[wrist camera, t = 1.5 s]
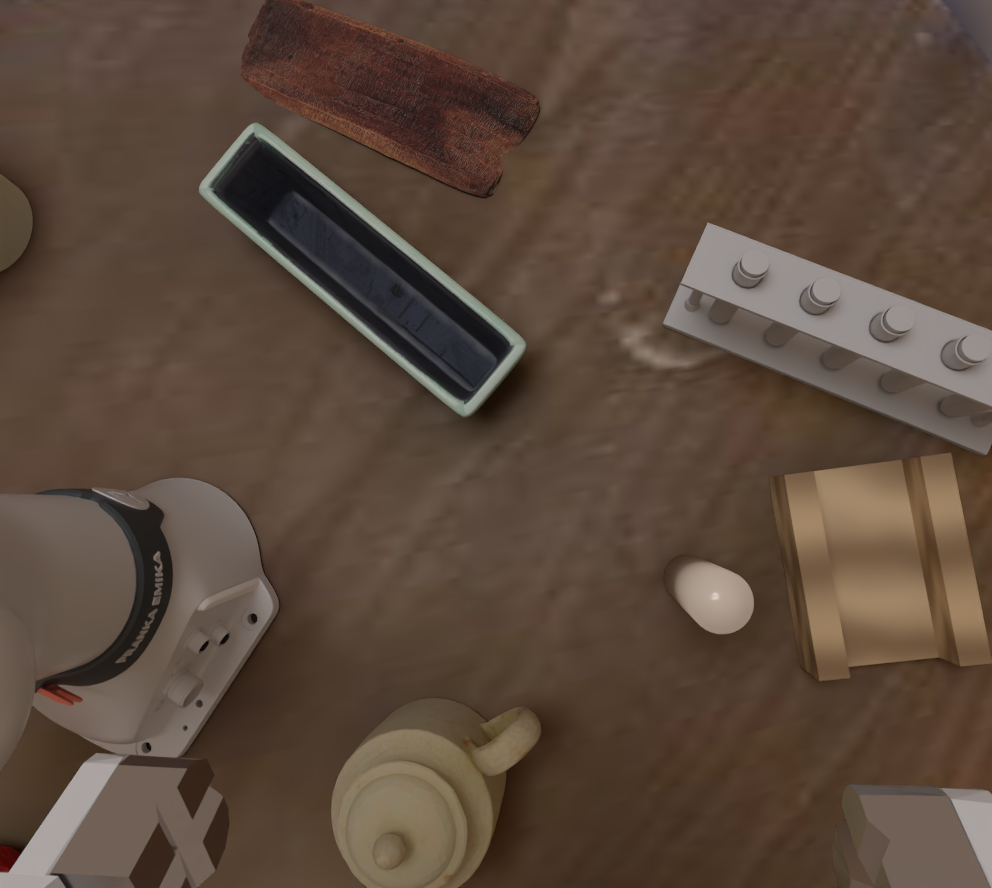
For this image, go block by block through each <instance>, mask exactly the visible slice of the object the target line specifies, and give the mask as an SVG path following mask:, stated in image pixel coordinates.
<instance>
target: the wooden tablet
mask: <svg viewBox="0 0 992 888" xmlns="http://www.w3.org/2000/svg"><path fill="white" fill-rule="evenodd" d="M248 37H249V43H248V44H247V45H246V47H245V50H244V52H243V56H242V67H241V76H242V77H243V79H244V80H245V81H247V82H248V83H249V84H250V85H251V86H252V87H254V88H255V89H256V90H257V91H258V92H260V93H261V94H262V95H264V96H265V97H266V98H268V99H270V100H271V101H273V102H274V103H276V104H278V105H280V106H282V107H284V108H286V109H288V110H290V111H292V112H295V113H297V114H299V115H301V116H303V117H305V118H307V119H310V120H312V121H314V122H317V123H318V124H321V125H323V126H326V127H328V128H330V129H332V130H334V131H336V132H339V133H341V134H343V135H344V136H347V137H349V138H351V139H353V140H355V141H357V142H359V143H361V144H364V145H366V146H368V147H370V148H372V149H374V150H376V151H378V152H380V153H382V154H384V155H386V156H388V157H390V158H393V159H395V160H397V161H399V162H401V163H403V164H405V165H407V166H409V167H411V168H414V169H416V170H418V171H420V172H423V173H424V174H426V175H428V176H430V177H432V178H434V179H436V180H438V181H441V182H443V183H445V184H447V185H449V186H451V187H453V188H456V189H458V190H460V191H463V192H466V193H469V194H473V195H475V196H480V197H486V198H487V197H488V196H492V195H493V193H494V192H495V190H496V188H497V186H498V183H499V181H500V179H501V176H502V173H503V169H504V168H503V161H502V156H503V154H505V153H508V152H509V151H511V150H513V149H515V148H516V147H517V146H518V145H519V144H520V143H521V142H522V141H523V140H524V139H525V138H526V136H527V134H528V133H529V131H530V130H531V128H532V126H533V124H534V123H535V121H536V119H537V116H538V114H539V110H540V106H539V104H538V100H537V98H536V97H535V96H534V95H533V94H531V93H529V92H528V91H526V90H524V89H522V88H520V87H518V86H517V85H515V84H513V83H511V82H509V81H508V80H505V79H503V78H502V77H499V76H497V75H495V74H493V73H490V72H488V71H486V70H484V69H482V68H480V67H477V66H475V65H472V64H470V63H468V62H466V61H463V60H461V59H459V58H457V57H453V56H451V55H449V54H447V53H444V52H442V51H439V50H436V49H434V48H432V47H430V46H427V45H425V44H422V43H419V42H416V41H414V40H411V39H408V38H405V37H403V36H400V35H397V34H394V33H391V32H389V31H386V30H384V29H381V28H378V27H375V26H372V25H370V24H367V23H364V22H361V21H358V20H355V19H353V18H350V17H347V16H344V15H342V14H339V13H336V12H333V11H331V10H328V9H325V8H322V7H319V6H317V7H315V6H313V5H312V4H310V3H306V2H304V1H301V0H266V1H265V3H264V4H263V6H262V7H261V9H260V12H259V14H258V16H257V18H256V20H255V22H254V23H253V25H252V27H251V29H250V31H249V35H248Z"/></svg>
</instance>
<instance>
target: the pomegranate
mask: <svg viewBox="0 0 992 888" xmlns="http://www.w3.org/2000/svg"><path fill="white" fill-rule="evenodd" d="M20 855H21V853H19V852H18V851H17V850H15V849H14V848H12V847H9V846H0V872H9V871H10V870H11V868H12V867H13V865H14V864H15V862H16V861H17V859H18V858H19V856H20Z"/></svg>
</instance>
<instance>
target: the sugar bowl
mask: <svg viewBox="0 0 992 888" xmlns="http://www.w3.org/2000/svg"><path fill="white" fill-rule="evenodd" d="M540 735H541V725H540V721H539V719H538V717H537V716H536V715H535V714H534V712H532V711H531V710H530V709H528V708H526V707H516V708H513V709H511V710H508V711H506V712H504V713H502V714H500V715H499V716H497V717H495V718H493V719H492V720H490V721H489V722H486V721H485V719H484V718H482V717H481V716H480V715H479V714H478V713H476V712H475V711H474V710H472V709H471V708H469V707H468V706H466V705H464V704H462V703H459V702H456V701H452V700H449V699H442V698H425V699H419V700H415V701H412V702H409V703H407V704H405V705H403V706H401V707H399V708H398V709H397V710H395V711H394V712H392V713H391V714H390V715H389V716H388V717H387V718H386V719H385V720H384V721H383V722H382V723H381V724H379V725H378V726H377V727H376V728H375V729H374V730H373V731H372V732H371V733H370V734H369V735H368V736H367V737H366V738H365V739H364V741H363V742H362V743H361V744H360V745H359V747H358V748H357V749H356V750H355V751H354V753H353V754H352V755H351V756H350V758H349V759H348V760H347V761H346V763H345V765H344V766H343V768H342V770H341V772H340V774H339V776H338V778H337V781H336V784H335V788H334V791H333V795H332V804H331V819H332V827H333V832H334V837H335V840H336V843H337V845H338V848H339V850H340V852H341V854H342V857H343V858H344V859H345V861H346V863H347V864H348V866H349V868H350V870H351V871H352V873H353V874H354V875H355V877H356V878H357V879H358V880H359V881H360V882H361V883H362V884H364V885H365V886H366V887H367V888H458V887H460V886H461V885H462V884H463V883H465V882H466V881H467V880H468V879H469V878H470V877H471V876H472V875H473V873H474V872H475V871H476V870H477V868H478V867H479V866H480V864H481V862H482V860H483V858H484V856H485V854H486V852H487V850H488V848H489V845H490V842H491V839H492V836H493V833H494V830H495V827H496V823H497V820H498V816H499V812H500V808H501V803H502V799H503V795H504V791H505V784H506V770H508V769H509V768H510V767H512V766H513V765H514V764H516V763H517V762H519V761H520V760H521V759H522V758H524V757H525V756H526V755H527V754H528V752H529V751H530V750H531V749H532V748H533V747H534V746H535V745H536V743H537V742H538V740H539V738H540Z"/></svg>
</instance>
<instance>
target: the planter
mask: <svg viewBox="0 0 992 888" xmlns="http://www.w3.org/2000/svg"><path fill="white" fill-rule="evenodd" d="M199 193H200V194H201V195H202V196H203V198H204V199H205V200H207V201H208V202H209V203H210V204H211V205H212V206H213V207H214V208H215V209H216V210H218V211H219V212H220V213H221V214H222V215H223V216H225V217H226V218H227V219H228V220H229V221H230V222H231V223H233V224H234V225H235V226H236V227H237V228H238V229H240V230H241V231H242V232H243V233H244V234H245V235H247V236H248V237H249V238H250V239H251V240H252V241H254V242H255V243H256V244H257V245H258V246H259V247H261V248H262V249H263V250H264V251H265V252H266V253H268V254H269V255H270V256H271V257H272V258H273V259H275V260H276V261H277V262H278V263H279V264H280V265H282V266H283V267H284V268H285V269H286V270H288V271H289V272H290V273H291V274H292V275H293V276H295V277H296V278H297V279H298V280H299V281H300V282H302V283H303V284H304V285H305V286H306V287H307V288H309V289H310V290H311V291H312V292H313V293H314V294H316V295H317V296H318V297H319V298H320V299H322V300H323V301H324V302H325V303H326V304H327V305H329V306H330V307H331V308H332V309H333V310H334V311H336V312H337V313H338V314H339V315H340V316H342V317H343V318H344V319H345V320H346V321H347V322H349V323H350V324H351V325H352V326H353V327H354V328H356V329H357V330H358V331H359V332H360V333H362V334H363V335H364V336H365V337H366V338H367V339H369V340H370V341H371V342H372V343H373V344H374V345H376V346H377V347H378V348H379V349H380V350H382V351H383V352H384V353H385V354H386V355H387V356H389V357H390V358H391V359H392V360H393V361H395V362H396V363H397V364H398V365H399V366H400V367H402V368H403V369H404V370H405V371H406V372H408V373H409V374H410V375H411V376H412V377H413V378H415V379H416V380H417V381H418V382H419V383H421V384H422V385H423V386H424V387H425V388H427V389H428V390H429V391H430V392H431V393H433V394H434V395H435V396H436V397H437V398H439V399H440V400H441V401H442V402H443V403H445V404H446V405H447V406H448V407H450V408H451V409H452V410H453V411H455V412H456V413H457V414H459V415H461V416H462V417H469V416H471V415H473V414H474V413H475V412H476V411H477V410H478V409H479V408H480V407H481V406H482V405H483V404H484V403H485V401H486V400H487V399H488V398H489V397H490V396H491V395H492V393H493V392H494V391H495V390H496V389H497V387H498V386H499V385H500V384H501V383H502V382H503V380H504V379H505V378H506V377H507V376H508V374H509V373H510V372H511V371H512V369H513V368H514V367H515V366H516V365H517V363H518V362H519V361H520V359H521V358H522V356H523V355H524V353H525V351H526V342H525V341H524V339H523V338H522V337H521V336H520V335H519V334H517V333H516V332H515V331H514V330H513V329H512V328H511V327H510V326H508V325H507V324H506V323H505V322H504V321H502V320H501V319H500V318H499V317H498V316H496V315H495V314H494V313H493V312H492V311H490V310H489V309H488V308H487V307H485V306H484V305H483V304H482V303H481V302H479V301H478V300H477V299H476V298H475V297H473V296H472V295H471V294H470V293H468V292H467V291H466V290H465V289H464V288H462V287H461V286H460V285H459V284H457V283H456V282H455V281H454V280H453V279H451V278H450V277H449V276H448V275H447V274H445V273H444V272H443V271H442V270H440V269H439V268H438V267H437V266H436V265H434V264H433V263H432V262H431V261H429V260H428V259H427V258H426V257H425V256H423V255H422V254H421V253H420V252H418V251H417V250H416V249H415V248H414V247H412V246H411V245H410V244H409V243H407V242H406V241H405V240H404V239H402V238H401V237H400V236H399V235H398V234H396V233H395V232H394V231H393V230H391V229H390V228H389V227H388V226H387V225H385V224H384V223H383V222H382V221H380V220H379V219H378V218H377V217H376V216H374V215H373V214H372V213H371V212H369V211H368V210H367V209H366V208H364V207H363V206H362V205H361V204H360V203H358V202H357V201H356V200H355V199H353V198H352V197H351V196H350V195H349V194H347V193H346V192H345V191H344V190H342V189H341V188H340V187H339V186H337V185H336V184H335V183H334V182H333V181H331V180H330V179H329V178H328V177H326V176H325V175H324V174H323V173H321V172H320V171H319V170H318V169H316V168H315V167H314V166H313V165H312V164H310V163H309V162H308V161H307V160H305V159H304V158H303V157H302V156H300V155H299V154H298V153H297V152H296V151H294V150H293V149H292V148H291V147H289V146H288V145H287V144H286V143H284V142H283V141H282V140H281V139H279V138H278V137H277V136H276V135H274V134H273V133H272V132H270V131H269V130H268V129H266V128H265V127H264V126H262V125H260V124H258V123H253V124H251V125H249V126H248V127H247V128H246V129H245V130H244V132H243V133H242V134H241V135H240V136H239V137H238V139H237V140H236V141H235V142H234V143H233V144H232V146H231V147H230V148H229V149H228V150H227V152H226V153H225V154H224V155H223V156H222V158H221V159H220V160H219V161H218V162H217V164H216V165H215V166H214V167H213V169H212V170H211V171H210V172H209V173H208V175H207V176H206V177H205V178H204V180H203V181H202V182H201V184H200V187H199Z"/></svg>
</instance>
